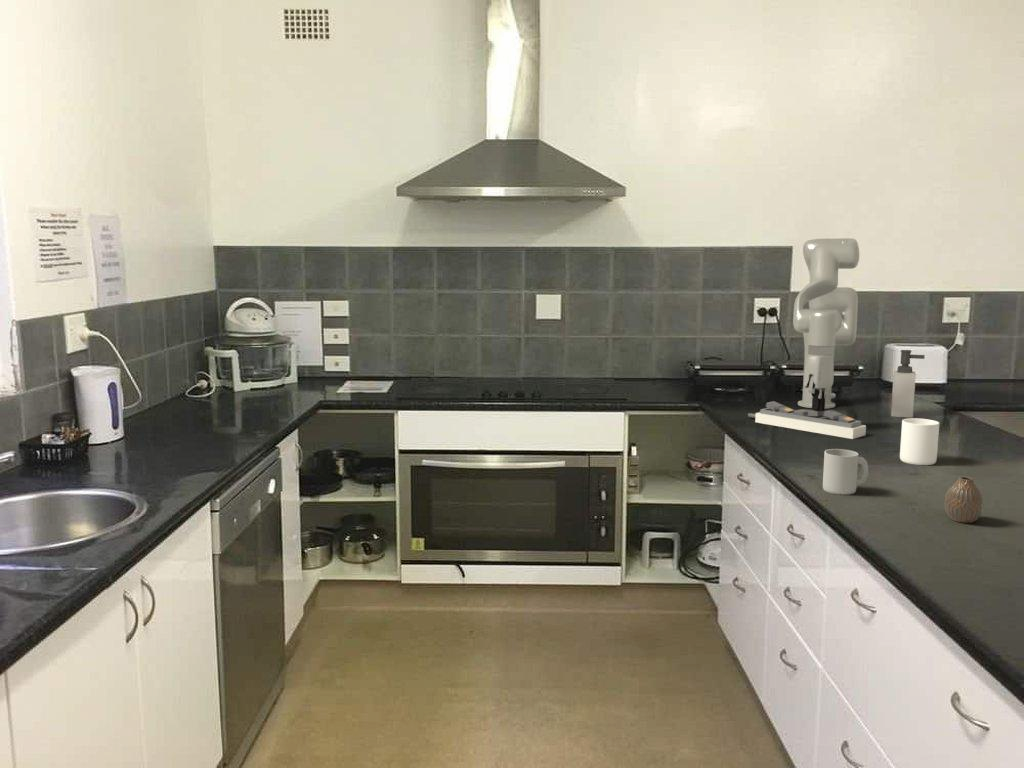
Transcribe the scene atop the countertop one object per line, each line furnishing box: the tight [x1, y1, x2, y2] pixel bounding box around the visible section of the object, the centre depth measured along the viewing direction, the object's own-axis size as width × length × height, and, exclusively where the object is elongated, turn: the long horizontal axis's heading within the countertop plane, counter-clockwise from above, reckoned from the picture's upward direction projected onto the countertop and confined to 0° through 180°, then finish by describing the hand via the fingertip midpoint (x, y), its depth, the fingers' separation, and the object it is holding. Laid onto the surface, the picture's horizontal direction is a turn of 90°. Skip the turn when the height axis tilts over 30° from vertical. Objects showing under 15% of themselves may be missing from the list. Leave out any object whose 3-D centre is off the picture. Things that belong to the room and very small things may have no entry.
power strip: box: [747, 407, 867, 440], centre depth 250 cm, size 8×38×4 cm, turn 39°
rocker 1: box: [765, 400, 796, 413], centre depth 256 cm, size 4×8×2 cm, turn 39°
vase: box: [944, 476, 985, 524], centre depth 161 cm, size 7×7×9 cm
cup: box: [822, 448, 869, 496], centre depth 182 cm, size 7×10×9 cm
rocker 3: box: [823, 409, 856, 423], centre depth 240 cm, size 4×8×2 cm, turn 39°
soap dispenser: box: [890, 349, 926, 418], centre depth 266 cm, size 6×9×22 cm
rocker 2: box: [794, 408, 825, 416], centre depth 248 cm, size 4×8×2 cm, turn 39°
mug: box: [899, 417, 940, 466], centre depth 208 cm, size 9×12×11 cm
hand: (818, 410), depth 245 cm, fingers closed
